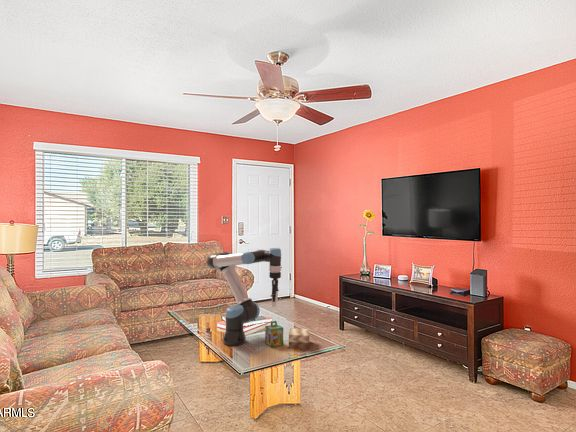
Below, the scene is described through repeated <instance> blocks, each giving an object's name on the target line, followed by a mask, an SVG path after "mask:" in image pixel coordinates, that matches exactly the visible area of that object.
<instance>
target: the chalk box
mask: <svg viewBox="0 0 576 432" xmlns="http://www.w3.org/2000/svg"><path fill="white" fill-rule="evenodd" d="M264 327H265V330H264V331H265V333H264V334H265V336H264V337H265V338H264V339H265V340H264V342H265V344H266V345H268V346H269V347H270V348H274V347H275V348H276V347H279V346H284V327H282V326H281V325H279V324H278V322H277V320H273V321H270V324H269V325H265V326H264Z"/></svg>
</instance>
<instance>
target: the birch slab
mask: <svg viewBox="0 0 576 432" xmlns="http://www.w3.org/2000/svg"><path fill="white" fill-rule="evenodd" d="M289 342H304V343H309V344H310V329H309V328H292V327H291V328H289V333H288V343H289Z"/></svg>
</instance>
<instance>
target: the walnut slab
mask: <svg viewBox="0 0 576 432" xmlns="http://www.w3.org/2000/svg"><path fill="white" fill-rule="evenodd" d="M292 348H293V349H295V350H296V349H299V350H301V349H302V350H309V349H310V342H309V343H304V342H289V341H288V349H292Z"/></svg>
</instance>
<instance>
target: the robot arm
mask: <svg viewBox="0 0 576 432" xmlns="http://www.w3.org/2000/svg"><path fill="white" fill-rule="evenodd" d="M261 262H262V263H263V262H264V263H265V262H266V263H267V262H268V263H269V278H270V279H272V280H271V294H270V297H271V308H275V307H277V302H278V300H279V299H278V298H279V297H278V294H279V293H278V292H280V289H279V287H278V285H279V280H278V279H280V278H281V277H282V263H281V262H282V249H281V248H279V247H271V248H270V249H269V250H265V249H257V250H255V251H254V250H253V251H246V252H240V253H232V252H231V251H230V252H229V251H224V252H218V253H212V254H210V255H209V256H208V257H207V259H206V266H207V267H208V268H209V269H210V270H214V271H216V270H219V271H220V273H221V274H223V275H224V277H225V279H226V281H227V283H228V285H229V287H230V290H231V292H232V295H233V297H234V298H235V301H236V303H237V304H235V305H233V304H232V305H230V306H228V307H227V308H226V310H225V332H224V335H223V338H222V343H223V344H224V345H226V346H233V347H236V346H241V345H243V344H245V343H246V341H247V339H246V334H245V331H244V324H246V323H250V322H253V321H254V320H256V319H258V318H259V316H260V312H261V311H260V306H259V305H258V303H256V302H255V301H253V300H252V298H249V296H248V293H247V292H246V290H245V287H244V285H243V283H242V281H241V278H240V277H239V275H238V272H237V271H236V267H237V266H238V265H239V266H240V265H252V264H257V263H261Z"/></svg>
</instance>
